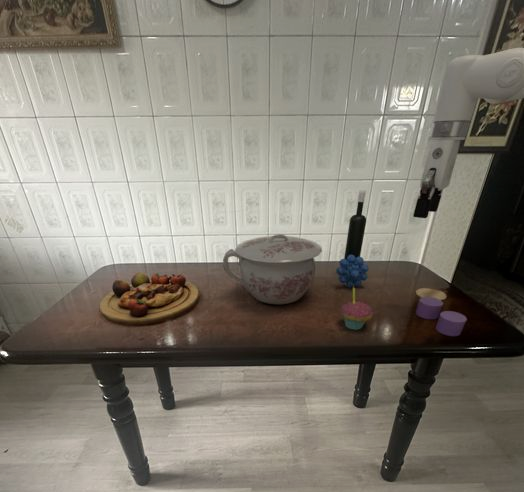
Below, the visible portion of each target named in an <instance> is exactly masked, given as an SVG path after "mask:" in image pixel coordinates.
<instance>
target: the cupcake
mask: <svg viewBox="0 0 524 492" xmlns="http://www.w3.org/2000/svg"><path fill="white" fill-rule="evenodd" d="M340 314H341V316H342V317H343V319H344V325H345V327H346V328H348V329H350V330H354V331H356V330H361V329H362V328H363V327H364V325H365V323H366V322H368V321H370V320H371V319H372V317H373V309H372V307H371V306H370V305H368V304H367V303H365V302H363V301H359V300H358V301H357V300H356V288H355V285H353V286H352V301H349V302H347V303H345V304H343V305H342V306H341V308H340Z"/></svg>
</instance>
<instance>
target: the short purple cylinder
mask: <svg viewBox="0 0 524 492" xmlns="http://www.w3.org/2000/svg"><path fill="white" fill-rule="evenodd" d="M467 321H468V318H467V317H466V315H464V314H462V313H460V312H457V311H452V310H445V311H444V310H443V311H441V312H440V314H439V317H438V318H437V322H436V324H435V331H437V332H438V333H440V334H442V335H444V336H448V337H458V336H460V335H462V332H463V330H464V328H465V325H466V323H467Z"/></svg>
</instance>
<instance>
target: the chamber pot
mask: <svg viewBox="0 0 524 492" xmlns="http://www.w3.org/2000/svg"><path fill="white" fill-rule="evenodd" d="M322 252H323V249H322V246H321V245H320V244H319V243H317V242H316V241H313V240H311V239H306V238H303V237H297V236H291V235H285V234H282V233H281V234H280V233H277V234H274V235H266V236H258V237H254V238H250V239H247V240H244V241H242V242H240V243H238V244H237V245H236V247H235V248H234V249H233V248H230V249H228V250H227V251H226V252H225V253H224V256H223V258H222V267H223V269H224V271H225V272H226V274H228V275H229V277H230V278H232V279H234V280H235V281H237V282H238V283H239V284H241V285H242V286H243V287H244V289H246V290H247V291H248V292H249V294H250V295H251V296H252V297H253V298H254V299H255V300H257V301H258V302H261V303H264V304H268V305H288V304H292V303H295V302H297V301H299V300H301V298H303V297H304V295H305V294H306V293H307V291H308V290H309V288H310V287H311V286H312V284H313V283H314V279H315V275H316V268H317V265H316V260H315V258H316V257H318V256H319V255H320V254H322ZM232 257H235V258H238V265H239V267H240V273H241V276H240V275H237V274H236V273H235V272H234V271H232V270H231V268H230V266H229V258H232Z"/></svg>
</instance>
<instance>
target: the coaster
mask: <svg viewBox="0 0 524 492" xmlns="http://www.w3.org/2000/svg"><path fill="white" fill-rule="evenodd" d="M415 294H416V296H418V297H419V298H422V297H433V298H437V299H439V300H441V301H442V302H443V301H444V300H446V299H447V297H448V296H447V294H446V293H445V292H443V291H441V290H439V289H435V288H429V287H427V288H426V287H423V288H418V289H416V290H415Z"/></svg>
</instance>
